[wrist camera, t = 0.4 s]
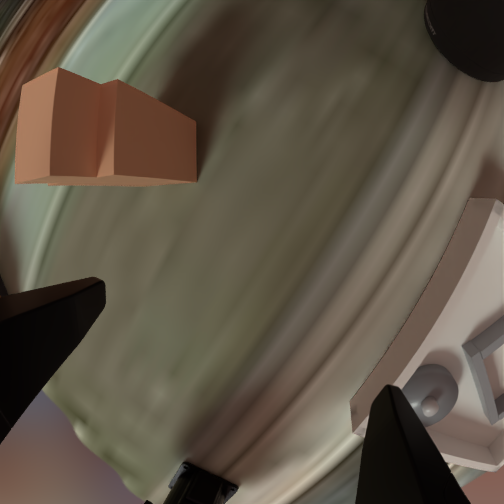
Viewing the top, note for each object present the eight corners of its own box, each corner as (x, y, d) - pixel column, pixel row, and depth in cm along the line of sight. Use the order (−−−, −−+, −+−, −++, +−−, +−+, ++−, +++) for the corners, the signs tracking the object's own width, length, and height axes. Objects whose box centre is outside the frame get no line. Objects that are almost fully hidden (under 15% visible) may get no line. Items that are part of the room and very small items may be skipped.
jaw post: (196, 182, 22) (66, 172, 10) (142, 186, 23) (3, 186, 10) (196, 121, 21) (76, 59, 9) (142, 129, 22) (10, 92, 10)
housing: (483, 448, 21) (495, 472, 17) (349, 401, 23) (352, 433, 19) (582, 297, 16) (606, 309, 12) (469, 197, 18) (496, 198, 14)
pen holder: (438, -23, 15) (470, -91, 5) (523, 43, 14) (581, 0, 5) (399, 34, 17) (435, -45, 8) (497, 111, 17) (575, 77, 7)
